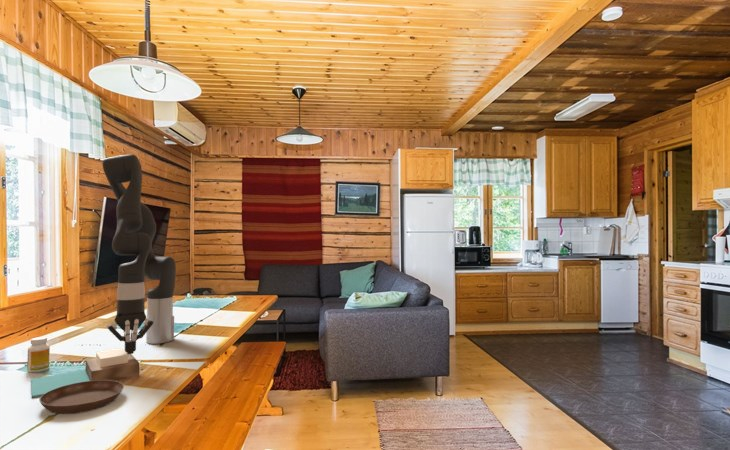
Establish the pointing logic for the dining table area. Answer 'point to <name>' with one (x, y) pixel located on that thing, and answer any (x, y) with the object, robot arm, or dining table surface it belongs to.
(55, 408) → the plant saucer
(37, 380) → the mat
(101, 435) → the dining table surface
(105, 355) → the white block
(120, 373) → the bronze rectangular block
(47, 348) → the supplement bottle
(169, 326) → the robot arm
